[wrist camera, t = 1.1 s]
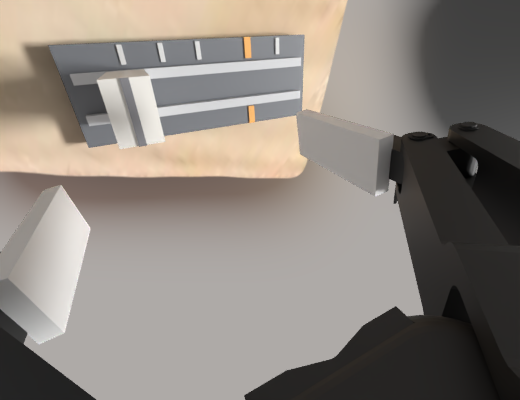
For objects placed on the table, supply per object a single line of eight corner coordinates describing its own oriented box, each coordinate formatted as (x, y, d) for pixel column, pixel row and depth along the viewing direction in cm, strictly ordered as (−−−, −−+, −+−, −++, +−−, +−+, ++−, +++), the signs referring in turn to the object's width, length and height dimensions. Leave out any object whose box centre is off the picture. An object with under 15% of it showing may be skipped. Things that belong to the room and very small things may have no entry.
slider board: (53, 45, 26) (45, 45, 24) (294, 35, 35) (308, 34, 33) (91, 142, 31) (87, 150, 29) (293, 111, 40) (305, 115, 38)
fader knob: (107, 71, 27) (96, 80, 18) (143, 68, 28) (149, 75, 19) (122, 120, 29) (119, 149, 20) (154, 116, 30) (165, 142, 22)
